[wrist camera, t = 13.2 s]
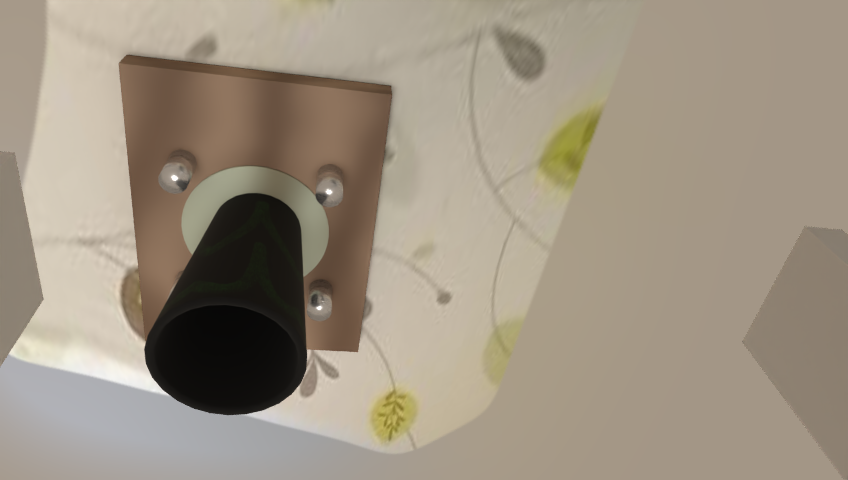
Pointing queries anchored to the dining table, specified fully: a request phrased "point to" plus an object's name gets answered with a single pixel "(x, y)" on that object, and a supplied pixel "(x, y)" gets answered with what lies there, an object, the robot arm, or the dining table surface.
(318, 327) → the stub board
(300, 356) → the cup
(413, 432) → the dining table surface
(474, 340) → the dining table surface
